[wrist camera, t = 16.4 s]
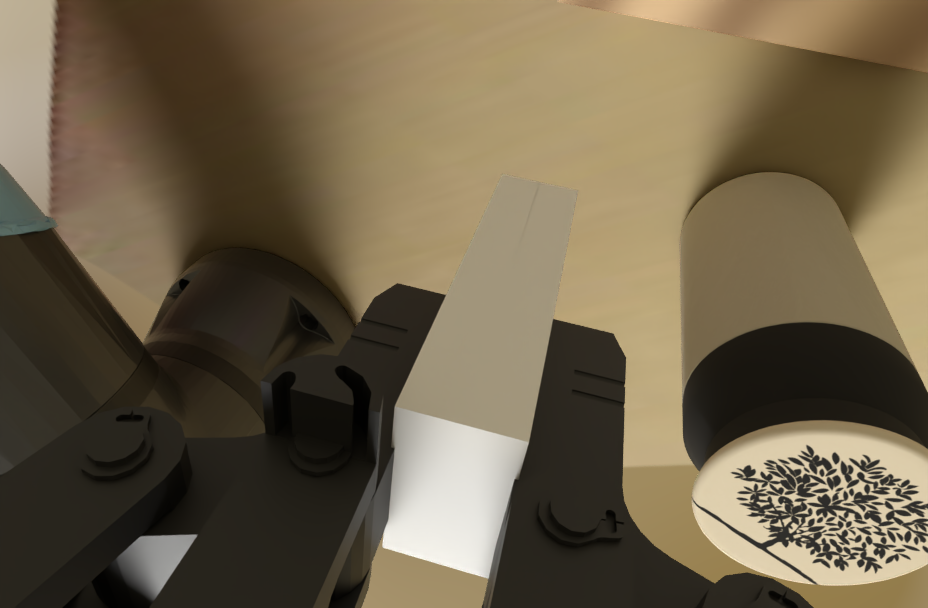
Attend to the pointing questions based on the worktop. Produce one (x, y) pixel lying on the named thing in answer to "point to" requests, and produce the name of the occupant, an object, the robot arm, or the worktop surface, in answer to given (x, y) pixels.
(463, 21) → the worktop surface
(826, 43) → the plank
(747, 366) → the travel mug
